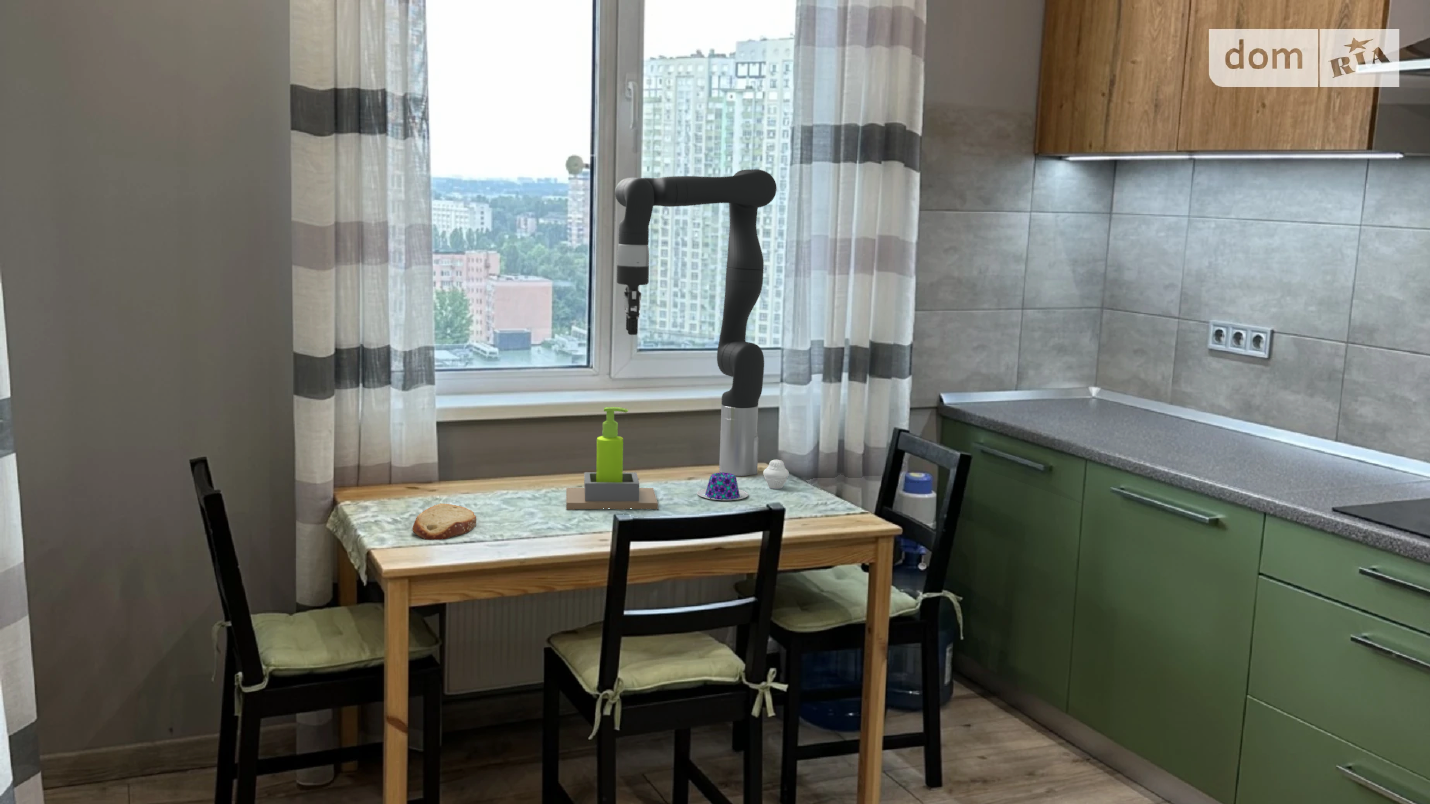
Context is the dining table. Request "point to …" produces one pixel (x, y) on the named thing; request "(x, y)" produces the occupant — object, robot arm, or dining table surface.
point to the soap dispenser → (610, 450)
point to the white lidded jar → (776, 474)
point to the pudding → (722, 487)
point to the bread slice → (444, 522)
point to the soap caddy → (611, 494)
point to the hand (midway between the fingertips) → (631, 332)
